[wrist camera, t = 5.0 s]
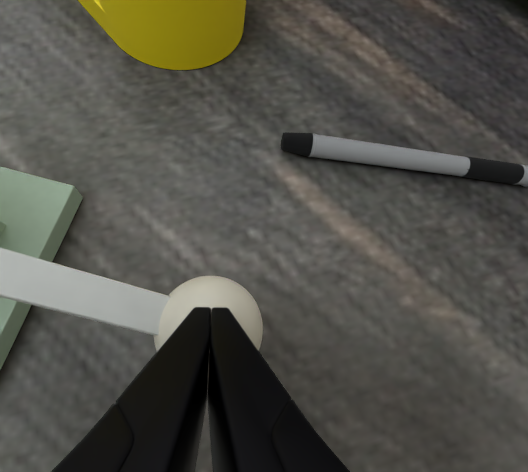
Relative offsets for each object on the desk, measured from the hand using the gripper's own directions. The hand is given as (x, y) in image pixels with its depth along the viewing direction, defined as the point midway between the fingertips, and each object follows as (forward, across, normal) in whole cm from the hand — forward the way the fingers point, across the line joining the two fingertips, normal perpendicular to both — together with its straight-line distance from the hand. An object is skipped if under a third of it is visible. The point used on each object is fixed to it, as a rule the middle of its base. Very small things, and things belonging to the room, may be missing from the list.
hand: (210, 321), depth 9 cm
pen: (+12, -11, -2) cm, 17 cm away
